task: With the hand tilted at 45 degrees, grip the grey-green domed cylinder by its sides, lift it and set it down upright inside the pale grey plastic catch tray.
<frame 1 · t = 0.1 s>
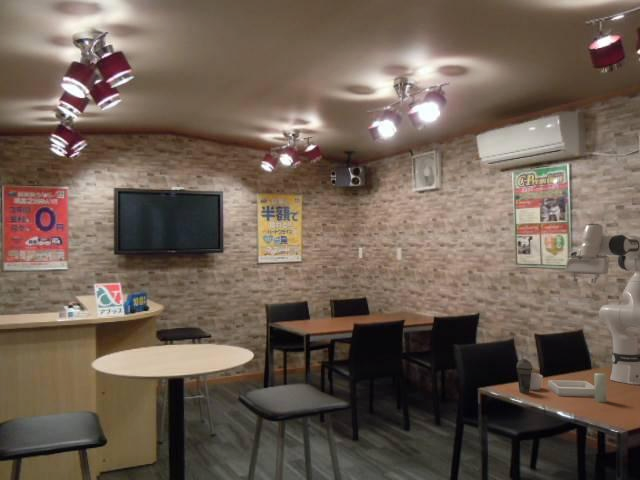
hand: (583, 282, 265), 52 cm above the table, tool tilted 20°, fingers open, 8 cm apart
candle: (532, 388, 269), on the table
catch tray: (572, 391, 262), on the table
beverage cup: (524, 392, 262), on the table
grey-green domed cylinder: (600, 401, 246), on the table
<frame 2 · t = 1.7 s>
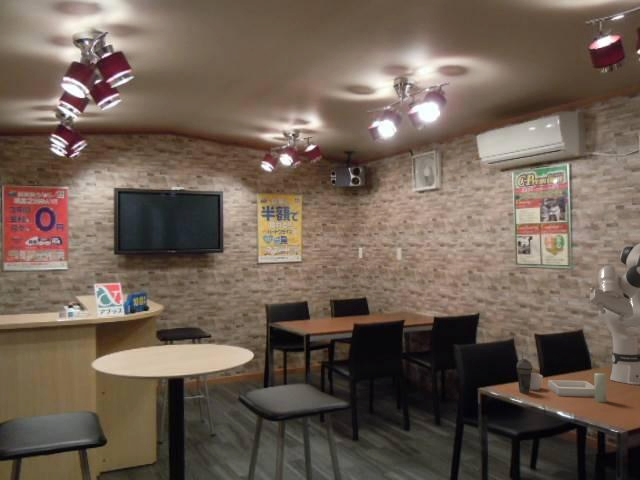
hand: (612, 317, 249), 37 cm above the table, tool tilted 45°, fingers open, 8 cm apart
nothing on the table moved.
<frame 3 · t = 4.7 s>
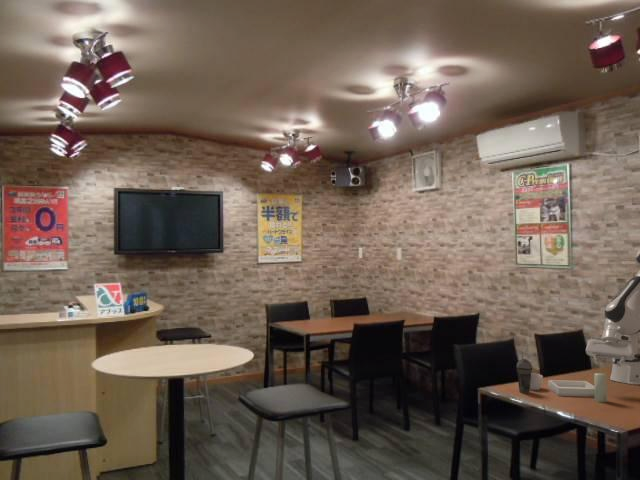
hand: (607, 364, 254), 15 cm above the table, tool tilted 45°, fingers open, 8 cm apart
nothing on the table moved.
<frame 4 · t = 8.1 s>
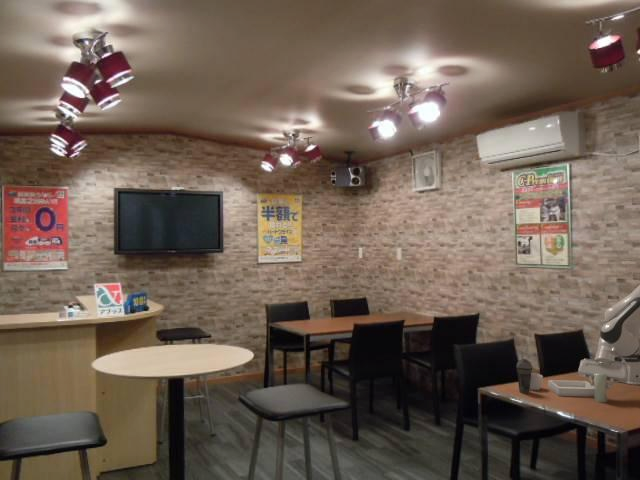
hand: (600, 386, 246), 7 cm above the table, tool tilted 45°, fingers closed on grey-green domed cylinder, 5 cm apart
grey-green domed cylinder: (600, 401, 246), on the table, touching gripper
everything else where it was.
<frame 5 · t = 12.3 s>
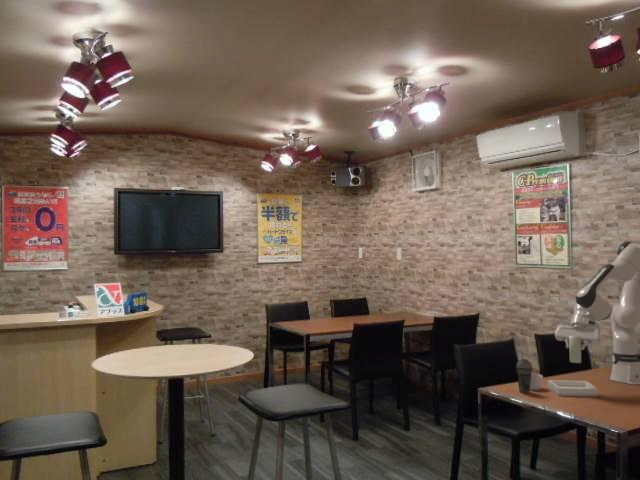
hand: (574, 348, 260), 21 cm above the table, tool tilted 45°, fingers closed on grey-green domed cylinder, 5 cm apart
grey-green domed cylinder: (575, 361, 261), point 15 cm above the table, touching gripper
everything else where it was.
when the fingers open (9 cm above the table, at t = 16.4 s): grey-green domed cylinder drops 1 cm, resting on catch tray.
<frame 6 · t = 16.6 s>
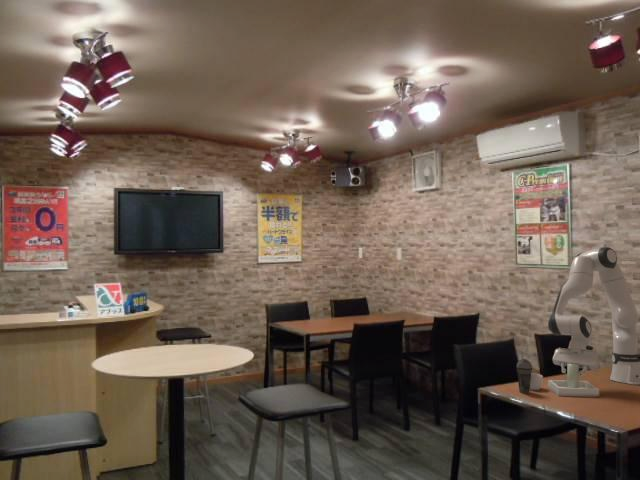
hand: (572, 373, 262), 9 cm above the table, tool tilted 45°, fingers open, 7 cm apart
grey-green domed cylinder: (572, 389, 262), point 1 cm above the table, touching catch tray
everything else where it was.
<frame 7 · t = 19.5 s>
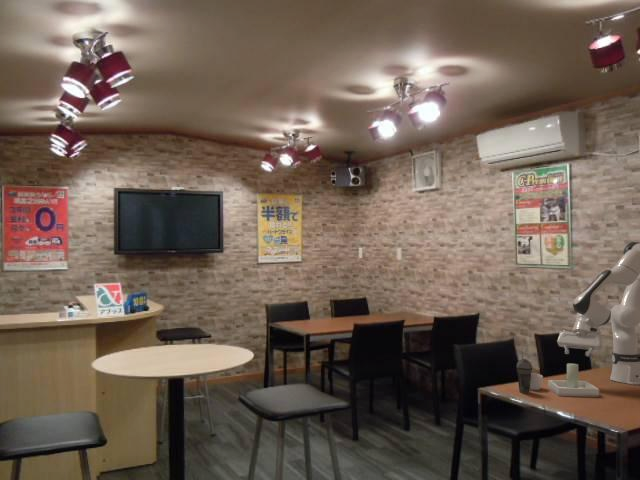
hand: (576, 354, 268), 17 cm above the table, tool tilted 45°, fingers open, 8 cm apart
nothing on the table moved.
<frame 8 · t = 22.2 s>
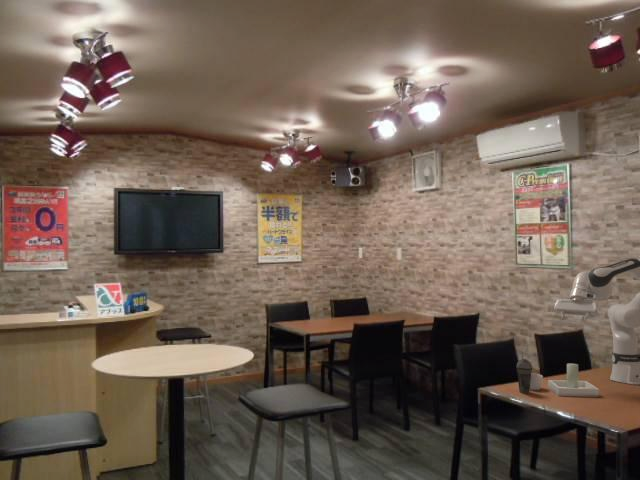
hand: (573, 320, 269), 33 cm above the table, tool tilted 45°, fingers open, 8 cm apart
nothing on the table moved.
at the end: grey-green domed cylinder inside the target area on the catch tray (0.0 cm from its centre), point 1.0 cm above the catch tray's base; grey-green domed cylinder tilted 0°; the gripper is holding nothing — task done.
